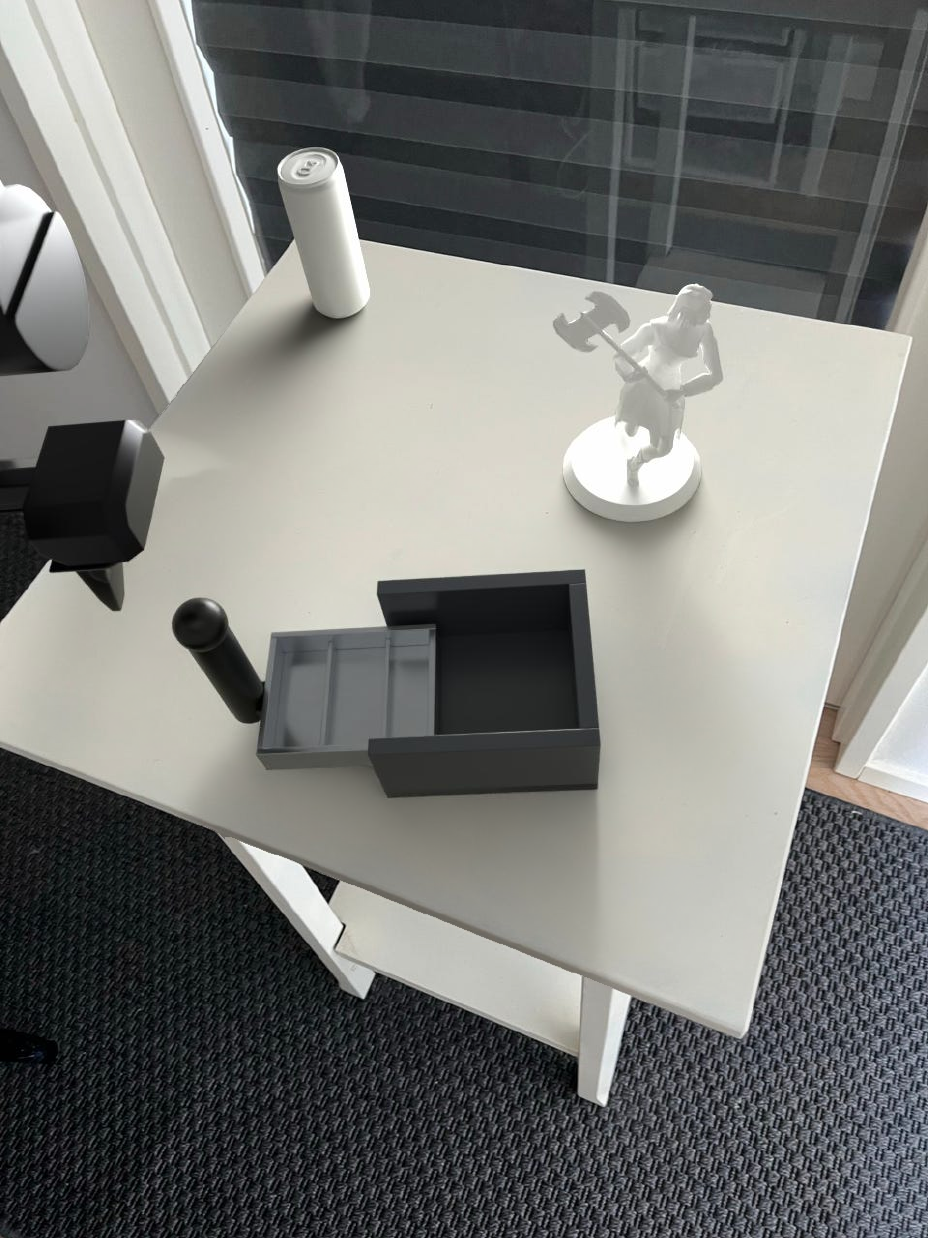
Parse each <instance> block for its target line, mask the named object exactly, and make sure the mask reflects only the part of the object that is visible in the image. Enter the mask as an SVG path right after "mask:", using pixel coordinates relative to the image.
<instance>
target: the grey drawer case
mask: <svg viewBox="0 0 928 1238" xmlns="http://www.w3.org/2000/svg"><path fill="white" fill-rule="evenodd" d="M586 575H587V574H586V569H585V568H577V569H576V568H575V569H574V568H573V569H560V570H559V569H557V570H542V571H541V570H540V571H539V570H538V571H524V572H506V573H491V574H490V573H488V574H474V575H473V574H472V575H471V574H470V575H455V576H439V577H438V576H436V577H420V578H403V579H402V578H401V579H388V580H386V579H385V580H377V584H376V597H377V600H378V603H379V606H380V610H381V613H382V616H383V619H384V623H385V626H399V625H417V624H436V626H437V630H438V635H439V639H440V710H439V735H433V736H411V737H388V738H370V739H369V741H368V756H369V759H370V761H371V763H372V765H373V766H372V768H373V770H374V772H375V774H376V776H377V779H378V781H379V783H380V786H381V788H382V790H383V793H384V795H385V797H386V798H387V799H390V798H391V799H392V798H394V799H395V798H418V797H419V798H421V797H443V796H444V797H445V796H446V797H447V796H468V795H469V796H470V795H471V796H472V795H493V794H494V795H496V794H497V795H498V794H514V793H515V794H517V793H518V794H520V793H523V794H524V793H546V792H570V791H571V792H572V791H573V792H574V791H594V790H597V791H598V789H599V778H600V777H599V775H600V764H601V763H600V760H601V746H602V743H601V732H600V721H599V720H600V719H599V710H598V709H599V707H598V699H597V697H598V696H597V686H596V677H595V676H596V675H595V665H594V663H595V662H594V653H593V642H592V633H591V631H592V629H591V620H590V610H589V597H588V586H587V576H586Z"/></svg>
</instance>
